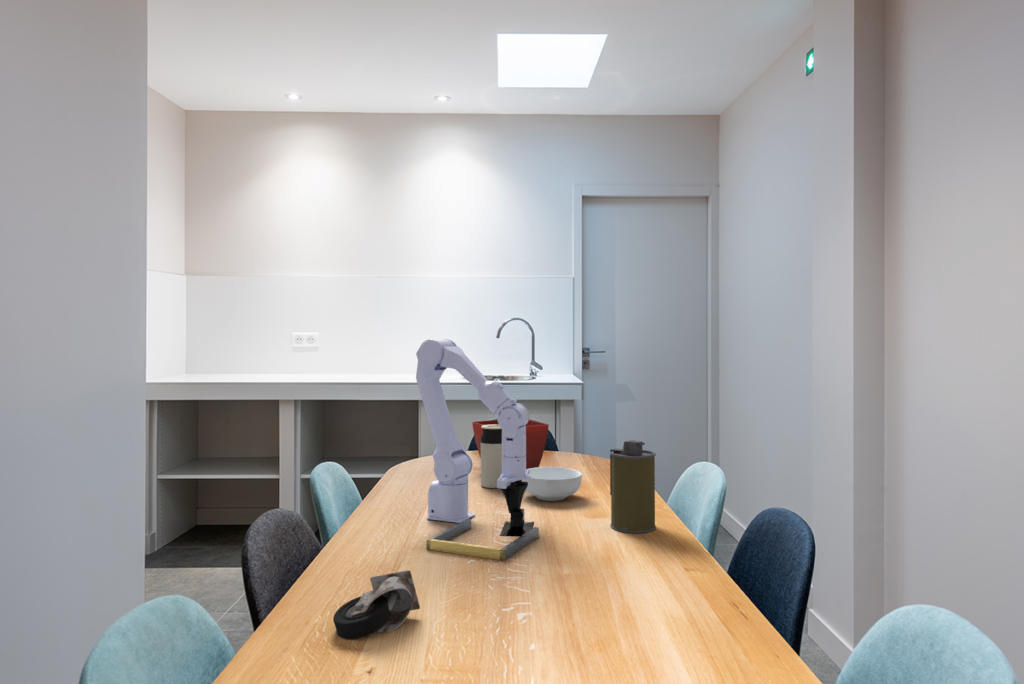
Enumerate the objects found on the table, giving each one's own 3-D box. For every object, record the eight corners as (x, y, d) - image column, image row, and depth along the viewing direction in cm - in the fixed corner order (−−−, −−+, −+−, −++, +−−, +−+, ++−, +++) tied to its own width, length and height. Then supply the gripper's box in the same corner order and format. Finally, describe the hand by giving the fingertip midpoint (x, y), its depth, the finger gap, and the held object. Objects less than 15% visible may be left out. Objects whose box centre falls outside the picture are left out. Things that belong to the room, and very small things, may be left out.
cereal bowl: (511, 501, 183) (511, 475, 183) (532, 489, 199) (532, 464, 199) (571, 507, 177) (571, 480, 177) (588, 493, 192) (588, 469, 192)
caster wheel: (333, 656, 99) (354, 618, 109) (406, 644, 98) (421, 606, 108) (321, 615, 98) (343, 580, 108) (395, 601, 97) (410, 568, 107)
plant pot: (496, 482, 208) (496, 427, 208) (471, 472, 225) (471, 421, 225) (550, 476, 216) (550, 424, 216) (521, 466, 233) (521, 418, 233)
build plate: (530, 538, 150) (530, 518, 150) (498, 538, 151) (498, 517, 151) (534, 523, 163) (534, 503, 163) (504, 522, 163) (504, 503, 163)
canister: (664, 526, 158) (664, 441, 158) (640, 536, 150) (639, 446, 150) (625, 518, 166) (624, 436, 165) (600, 527, 158) (599, 441, 158)
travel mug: (512, 485, 204) (512, 425, 204) (497, 490, 197) (497, 428, 197) (490, 482, 208) (490, 423, 208) (475, 486, 202) (475, 426, 202)
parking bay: (426, 549, 142) (426, 539, 142) (467, 527, 158) (467, 518, 158) (504, 560, 134) (504, 550, 134) (538, 536, 150) (538, 527, 150)
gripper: (517, 462, 152) (517, 522, 152) (541, 452, 165) (541, 507, 165) (488, 459, 155) (489, 519, 155) (514, 450, 168) (514, 505, 168)
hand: (514, 513), depth 160 cm, fingers closed
